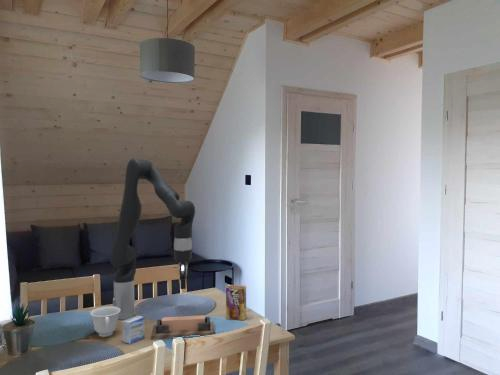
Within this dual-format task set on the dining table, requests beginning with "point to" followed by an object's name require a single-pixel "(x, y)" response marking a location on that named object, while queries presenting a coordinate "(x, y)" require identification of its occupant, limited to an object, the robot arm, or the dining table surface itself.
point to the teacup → (105, 320)
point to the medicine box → (133, 329)
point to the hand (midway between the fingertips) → (183, 288)
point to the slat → (183, 322)
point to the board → (163, 330)
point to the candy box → (236, 302)
